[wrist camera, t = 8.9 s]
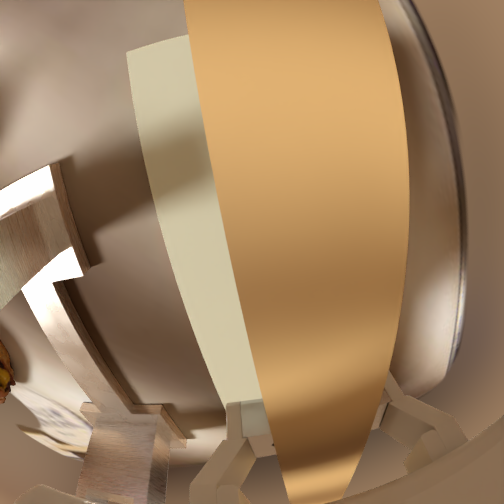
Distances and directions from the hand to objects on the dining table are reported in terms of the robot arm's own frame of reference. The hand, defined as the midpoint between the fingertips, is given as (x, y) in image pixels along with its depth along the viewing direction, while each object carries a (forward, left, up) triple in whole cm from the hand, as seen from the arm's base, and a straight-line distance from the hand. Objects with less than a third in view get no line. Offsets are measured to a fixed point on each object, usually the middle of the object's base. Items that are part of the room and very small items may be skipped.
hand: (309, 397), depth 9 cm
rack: (+2, -14, -7) cm, 16 cm away
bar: (0, 0, -1) cm, 1 cm away
